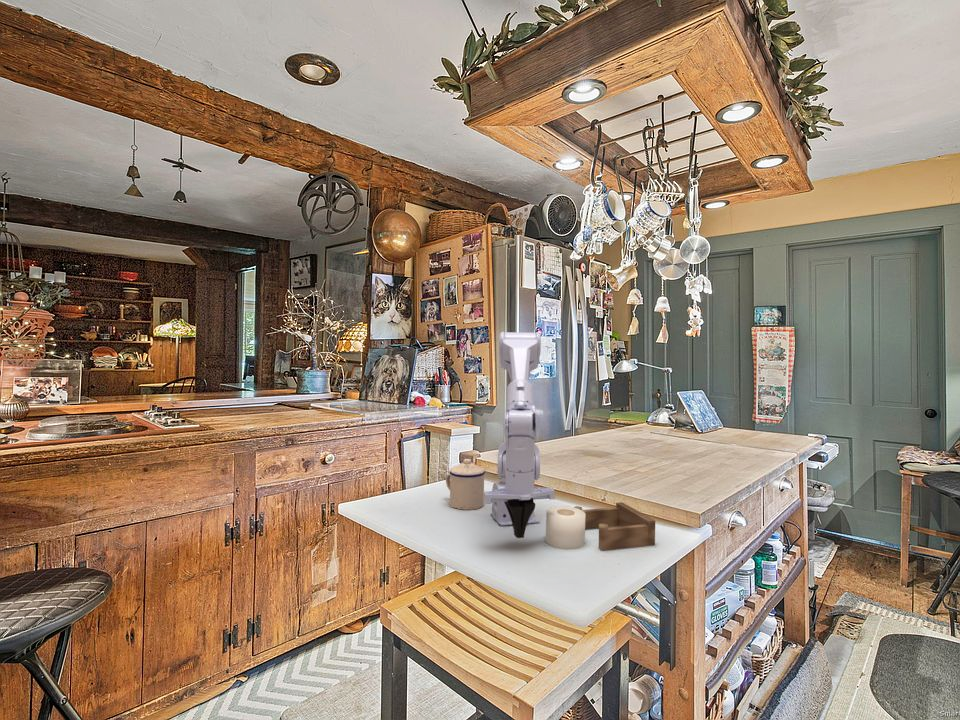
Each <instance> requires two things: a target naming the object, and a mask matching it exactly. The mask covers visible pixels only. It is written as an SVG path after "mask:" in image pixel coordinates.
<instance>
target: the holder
mask: <svg viewBox="0 0 960 720" xmlns="http://www.w3.org/2000/svg"><path fill="white" fill-rule="evenodd" d="M573 508H577V509H580V510H582V511H584V512H585V514H586V515H585V531H586V530H596V529H598V549H599V550H600V551H601V552H602V551H603V552H604V551H612V550H619V549H621V548H622V549H630V547H631V548H638V547H648V546H655V545H656V520H655V519H653V518H651V517H650V516H648V515H646V514H644V513H643V512H641V511H639V510H637V509H635V508H634V507H632V506H629V505H628V504H626V503H624V502H621V501H620V502H616V503H615V507H614V506H612V507H605V508H604V507H602V508H590V509H583V507H582V506H579V505H578V506H574V507H573Z"/></svg>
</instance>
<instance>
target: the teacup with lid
mask: <svg viewBox="0 0 960 720" xmlns="http://www.w3.org/2000/svg"><path fill="white" fill-rule="evenodd" d="M485 474H486V471H485V469H484V467H482V466H479V465H477V464H475V463H474V462H472V459H471V458H463V462H462V463H459V464H458V465H455V466H452V467H451V468H450V469H449V472H448V473H447V474H446V475H445V484H446V487H447V489H448V491H449V505H450V506H451V507H452V508H453V507H454V508H453V509H456V508H457V509H456V510H461V509H463V510H462V511H472V510H473V509H474V510H477V509H481V508H482V507H483V506H484V505H485V502H484V492H485ZM480 507H481V508H480Z"/></svg>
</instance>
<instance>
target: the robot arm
mask: <svg viewBox="0 0 960 720" xmlns="http://www.w3.org/2000/svg"><path fill="white" fill-rule="evenodd" d="M541 337H542V336H541V334H540V332H538V331H535V332H528V331H527V332H516V331H515V332H514V331H513V332H510V331H509V332H507V331H506V332H505V331H501V332H500V333H499V342H498V345H499V348H498V350H499V352H498V354H499V363H500V368H502V369H503V370H505V371H507V372H508V376H509V379H510V383H509V384H508V385H507V388H506V411H505V412H504V418H503V434H504V441H503V442H502V443H500V445H499V447H498V449H497V450H498V451H497V452H498V453H497V472H496V473H497V477H498V478H499V479H500V480H501V481H498V482H494V483H493V484H492V490H490V491H484V504H486V505H491V512H490V515H491V516H492V517H493V518H494V520H495V521H496V522H497V523H498V524H499V525H500V526H501V527H502V526H512V529H513V535H514V536H515V537H516V538H517V539H524V537H525V533H526V531H527V530H526V529H527V526H528V524H535V523H536V524H537V523H540V519H539V518H538V517H536V516H535V514H534V511H535V509H536V503H535V502H534V500H550V501H551V500H555V499H556V498H555V496H556V495H555V494H556V493H555V491H556V490H555V489H554V488H552V487H537V486H536V487H535V486H534V485H535V481H538V480H539V478H541V477H540V476H541V458H540V448H539V445H537V444H536V443H535V439H536V438H537V434H538V415H537V411H536V405H535V398H534V397H535V396H534V395H535V392H534V386H533V384H532V383H531V382H530V381H529V378H530V374H531V372H533V371H534V370H536V369H538V367H539V364H540V356H541V348H542V347H541V344H542V340H541ZM533 433H534V437H533Z"/></svg>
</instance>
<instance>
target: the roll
mask: <svg viewBox="0 0 960 720" xmlns="http://www.w3.org/2000/svg"><path fill="white" fill-rule="evenodd" d="M582 510H583V509H582ZM582 510H580V509H577V508H574V507H572V506H563V505H558V506H557V505H556V506H552V507H549V508H547V509H546V511H545V512H546V513H545V542H546V543H547V544H548V545H549V546H551V547H554V548H557V549H561V550H576V549H579V548H582V547H584V546H585V542H586V541H585V540H586V539H585V538H586V530H585V515H586V514H585V512H584V511H582Z"/></svg>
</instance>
